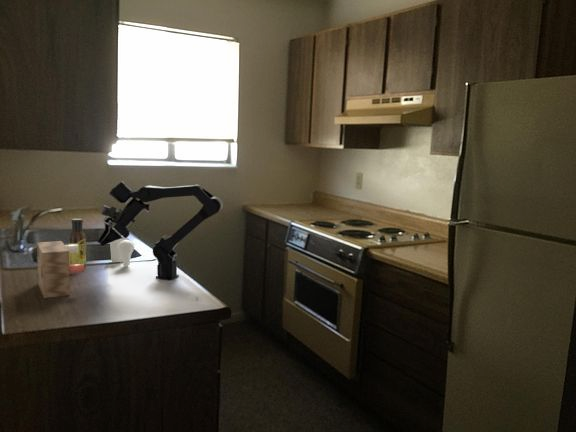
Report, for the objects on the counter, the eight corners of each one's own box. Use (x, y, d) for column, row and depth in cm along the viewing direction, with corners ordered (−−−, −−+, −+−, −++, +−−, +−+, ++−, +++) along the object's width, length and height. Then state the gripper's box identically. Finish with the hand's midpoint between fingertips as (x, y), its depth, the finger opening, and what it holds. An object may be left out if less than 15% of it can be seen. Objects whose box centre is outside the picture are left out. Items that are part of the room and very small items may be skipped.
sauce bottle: (83, 270, 208) (82, 220, 205) (67, 270, 208) (65, 220, 205) (88, 266, 215) (87, 218, 212) (72, 266, 214) (71, 217, 212)
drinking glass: (129, 261, 226) (129, 238, 225) (114, 263, 221) (114, 240, 220) (121, 258, 231) (121, 235, 229) (107, 260, 226) (106, 237, 225)
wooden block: (62, 281, 193) (61, 240, 191) (70, 295, 177) (68, 250, 175) (38, 283, 189) (36, 242, 187) (43, 297, 173) (42, 252, 171)
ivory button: (77, 251, 192) (77, 243, 192) (78, 253, 190) (78, 245, 189) (56, 253, 189) (56, 244, 188) (57, 254, 186) (57, 246, 186)
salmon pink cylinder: (83, 271, 183) (82, 262, 182) (84, 273, 180) (84, 264, 180) (61, 273, 179) (60, 264, 179) (62, 275, 177) (62, 266, 176)
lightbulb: (129, 268, 214) (129, 241, 212) (115, 267, 215) (115, 240, 213) (136, 265, 220) (136, 239, 218) (123, 264, 221) (123, 238, 219)
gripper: (108, 195, 203) (78, 225, 199) (119, 200, 187) (87, 233, 183) (129, 214, 208) (101, 244, 204) (142, 221, 192) (111, 254, 188)
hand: (99, 243), depth 195 cm, fingers open, 5 cm apart
